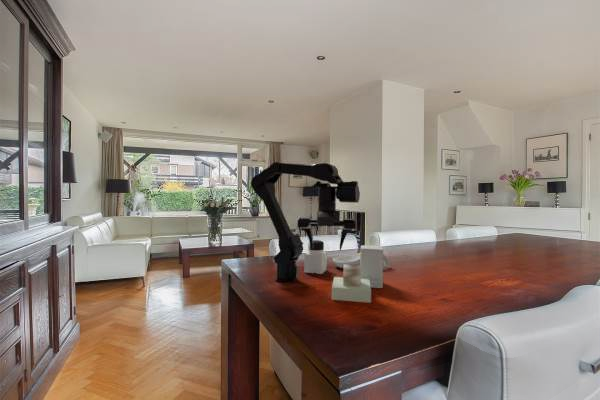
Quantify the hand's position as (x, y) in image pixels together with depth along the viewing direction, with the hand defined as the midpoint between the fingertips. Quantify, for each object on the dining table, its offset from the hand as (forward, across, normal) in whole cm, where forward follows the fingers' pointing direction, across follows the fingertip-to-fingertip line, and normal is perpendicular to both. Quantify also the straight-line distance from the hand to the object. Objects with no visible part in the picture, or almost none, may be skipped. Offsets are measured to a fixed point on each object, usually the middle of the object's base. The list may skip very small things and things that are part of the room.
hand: (326, 249), depth 98 cm
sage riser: (+12, +8, -8) cm, 17 cm away
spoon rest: (+12, +13, +28) cm, 33 cm away
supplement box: (+12, +15, +4) cm, 20 cm away
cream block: (+8, +8, -8) cm, 14 cm away
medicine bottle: (+12, -5, +17) cm, 22 cm away
